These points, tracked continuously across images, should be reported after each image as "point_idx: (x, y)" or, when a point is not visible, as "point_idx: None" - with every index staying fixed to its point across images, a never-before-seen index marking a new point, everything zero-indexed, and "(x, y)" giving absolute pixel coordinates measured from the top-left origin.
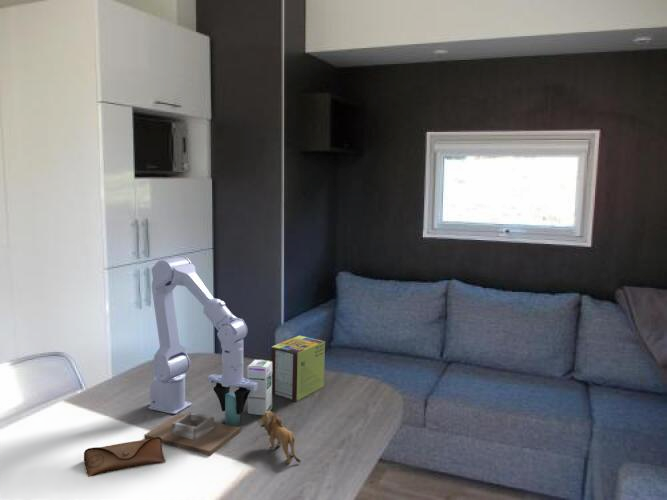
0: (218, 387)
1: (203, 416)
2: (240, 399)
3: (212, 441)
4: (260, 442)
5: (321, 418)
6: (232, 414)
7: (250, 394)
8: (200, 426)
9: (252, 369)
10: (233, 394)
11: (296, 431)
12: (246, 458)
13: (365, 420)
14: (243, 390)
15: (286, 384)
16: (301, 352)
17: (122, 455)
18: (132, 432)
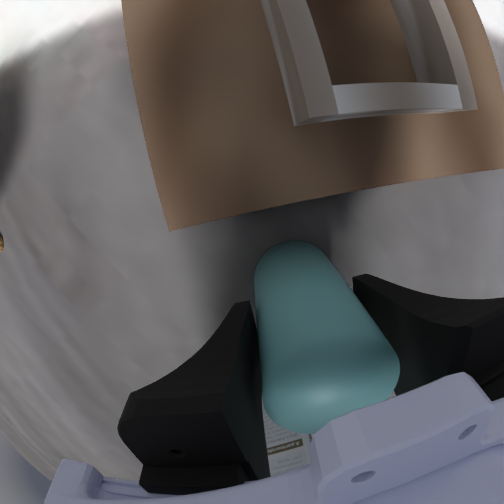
0: (491, 355)
1: (381, 90)
2: (177, 368)
3: (173, 18)
4: (42, 211)
5: (85, 441)
6: (272, 279)
7: (296, 457)
8: None
9: None
10: (333, 401)
11: (45, 358)
12: (10, 86)
13: (37, 450)
14: (170, 464)
15: None
16: None
17: None
18: (500, 9)
